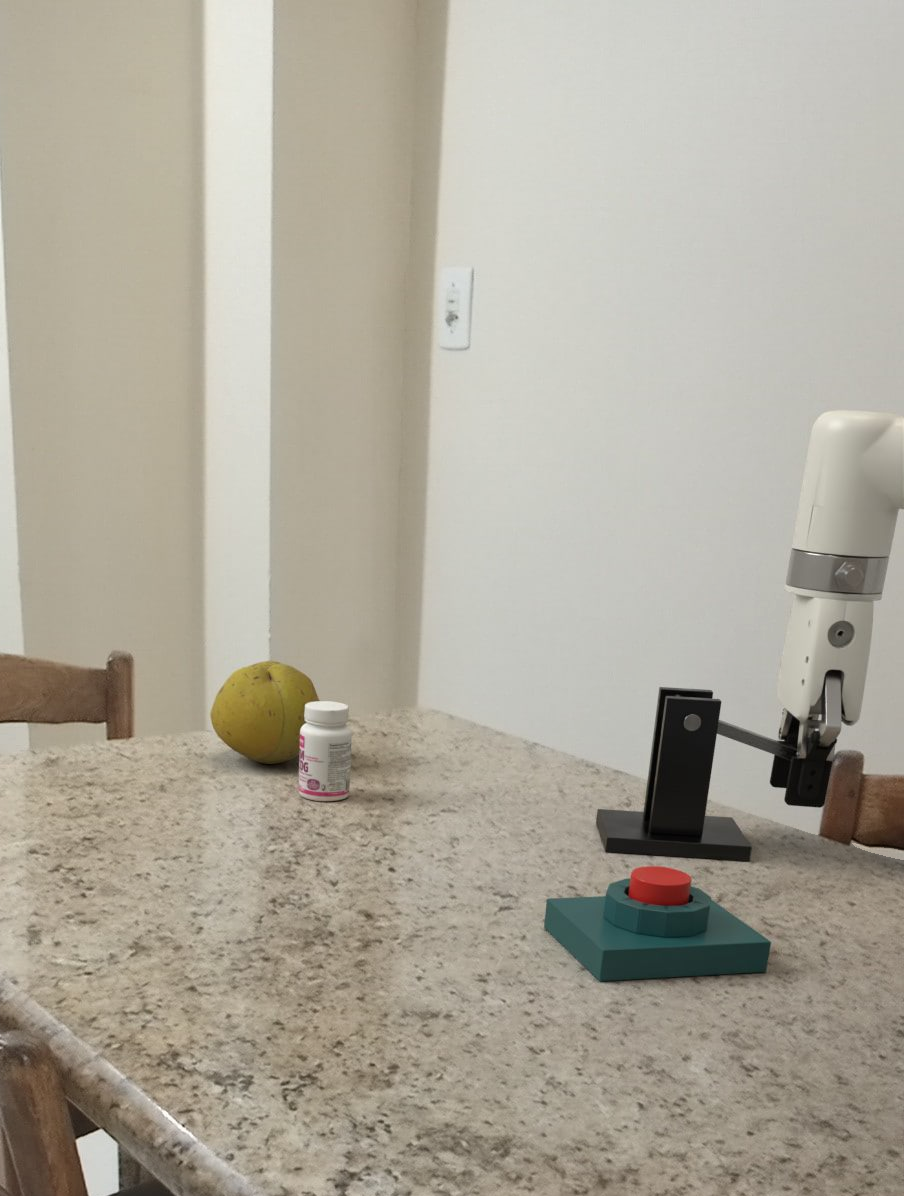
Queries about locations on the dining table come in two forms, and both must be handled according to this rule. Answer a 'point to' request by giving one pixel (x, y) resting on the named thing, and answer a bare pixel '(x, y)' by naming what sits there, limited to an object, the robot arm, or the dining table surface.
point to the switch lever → (755, 740)
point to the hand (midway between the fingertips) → (796, 794)
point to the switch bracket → (678, 788)
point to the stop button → (660, 886)
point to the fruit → (263, 711)
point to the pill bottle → (325, 752)
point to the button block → (654, 936)
